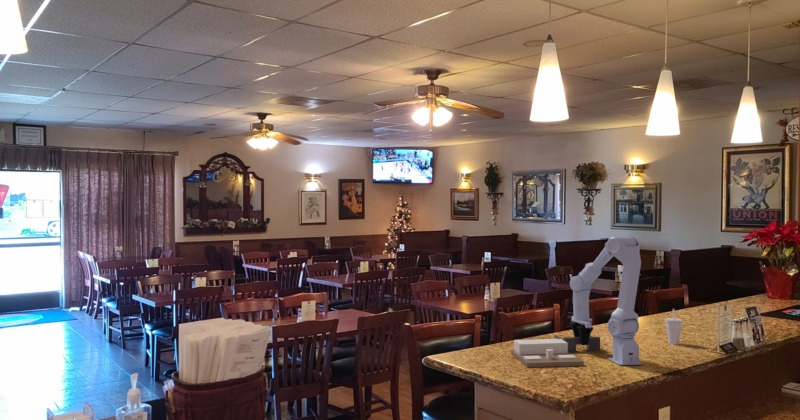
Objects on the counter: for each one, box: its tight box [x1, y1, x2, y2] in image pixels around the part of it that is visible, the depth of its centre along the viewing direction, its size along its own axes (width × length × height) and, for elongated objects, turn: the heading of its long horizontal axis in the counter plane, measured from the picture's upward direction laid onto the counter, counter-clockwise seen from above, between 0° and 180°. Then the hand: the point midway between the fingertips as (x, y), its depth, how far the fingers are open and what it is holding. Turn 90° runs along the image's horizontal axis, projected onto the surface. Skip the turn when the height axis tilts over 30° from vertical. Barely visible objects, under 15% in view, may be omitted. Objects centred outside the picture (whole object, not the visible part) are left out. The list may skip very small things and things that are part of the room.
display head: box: [510, 338, 585, 368], centre depth 216 cm, size 20×20×5 cm
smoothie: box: [664, 308, 683, 346], centre depth 240 cm, size 6×6×14 cm
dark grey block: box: [553, 334, 601, 353], centre depth 234 cm, size 11×14×5 cm
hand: (581, 343), depth 229 cm, fingers open, 5 cm apart
